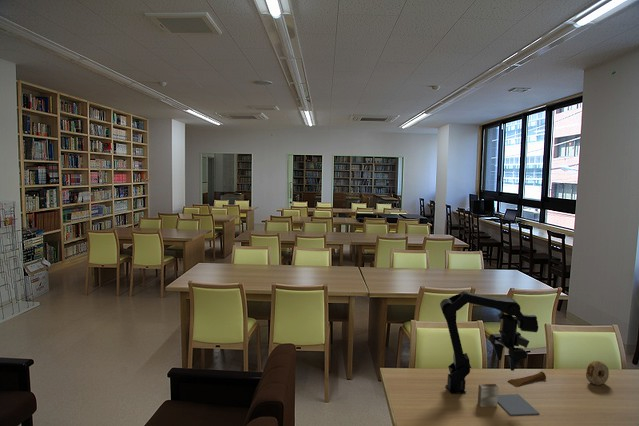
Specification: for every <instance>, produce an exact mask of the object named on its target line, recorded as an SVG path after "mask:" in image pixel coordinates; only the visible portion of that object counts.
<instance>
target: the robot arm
mask: <svg viewBox="0 0 639 426" xmlns="http://www.w3.org/2000/svg"><path fill="white" fill-rule="evenodd" d="M467 304H471V305H477V306H481V307H486V308H491V309H496V310H497V311H500V313H497V317H498V318H499V319H500V320H502V322H501V329H499V330H498V332H499V333H490V335H489V336H488V341H490V344H491V345H492V348H493V350H494V353H495V355H496V359H497V361H502V358H503V352H504V348H507V351H508V355H507V359H508V364H509V369H510V371H511V372H513V371H515V369H516V367H517V365H518V363H519V362H520V361H521V360H525V359H528V354H529V353H528V352H527V351H526V350H525V349H527V348H528V346H529V343H530V340H529V339H527V338H525V337H524V336H522V334H521V333H520V332H527V333H537V332H538V331H539V323H538V317H537V316H536V315H535V314H529V315H528V314H524V313H522V312H521V305H520V303H518V302H517V301H516V300H515V299H513V298H512V297H498V298H497V297H493V296H492V297H491V296H486V295H484V294H483V295H482V294H477V293H474V292H468V291H465V290H464V291H461V292H460V293H459V292H458V294H455V295H452V296H450V297H448V298H444V299H442V300H441V301H440V303H439V308H440V309H441V312H442V314H443V317H444V320H445V321H446V324H447V329H448V333H449V337H450V343H451V345H452V346H451V347H452V350H453V362H452V363H451V364H449V365H448V371H449V373H448V374H447V384H445V388H447V390H448V391H449V392H450V394H466V393H467V391H466V383H467V382H466V377H467V376H468V375H469V374H470V373H471V369H472V366H471V363H470V358H469V355H468V353H467V352H465V353H464V350H463V346H462V342H461V338H460V333H459V329H458V325H457V312H458V311H459V310H461V309H462V308H463V307H464V306H465V305H467ZM518 329H519V330H520V332H519V331H518ZM520 346H521V347H520ZM522 347H523V348H525V349H523V348H522Z"/></svg>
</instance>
